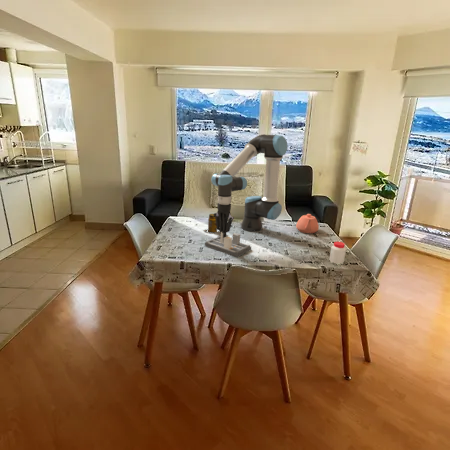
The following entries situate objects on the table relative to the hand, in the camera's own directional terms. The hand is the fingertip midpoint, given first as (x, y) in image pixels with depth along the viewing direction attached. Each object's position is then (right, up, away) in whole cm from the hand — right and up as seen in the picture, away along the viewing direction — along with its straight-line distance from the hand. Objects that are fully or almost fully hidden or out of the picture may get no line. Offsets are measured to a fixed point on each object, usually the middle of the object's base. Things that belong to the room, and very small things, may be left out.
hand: (222, 242), depth 174 cm
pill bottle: (+63, -10, -9) cm, 64 cm away
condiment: (-8, +6, +30) cm, 32 cm away
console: (+3, -3, +4) cm, 6 cm away
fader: (+3, -3, -1) cm, 4 cm away
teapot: (+60, +5, +39) cm, 71 cm away
